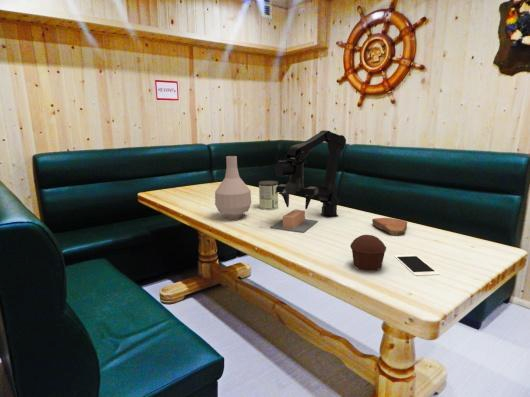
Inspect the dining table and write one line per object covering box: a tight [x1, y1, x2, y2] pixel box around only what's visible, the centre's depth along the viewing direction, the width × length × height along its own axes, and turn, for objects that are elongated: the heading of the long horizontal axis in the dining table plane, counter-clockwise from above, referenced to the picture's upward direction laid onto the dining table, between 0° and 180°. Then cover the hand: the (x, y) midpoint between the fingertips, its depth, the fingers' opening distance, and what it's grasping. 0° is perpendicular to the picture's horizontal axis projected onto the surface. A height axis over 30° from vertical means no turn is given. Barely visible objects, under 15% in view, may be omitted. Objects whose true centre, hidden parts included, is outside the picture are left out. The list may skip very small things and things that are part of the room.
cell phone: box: [393, 254, 440, 277], centre depth 117 cm, size 8×16×1 cm, turn 4°
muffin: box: [349, 234, 387, 272], centre depth 116 cm, size 12×11×10 cm
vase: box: [214, 155, 252, 220], centre depth 173 cm, size 18×18×30 cm
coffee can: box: [258, 180, 279, 211], centre depth 192 cm, size 10×10×14 cm
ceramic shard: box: [371, 217, 408, 236], centre depth 152 cm, size 15×6×15 cm
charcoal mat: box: [269, 218, 319, 234], centre depth 162 cm, size 18×16×1 cm
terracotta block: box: [282, 209, 306, 229], centre depth 161 cm, size 5×5×13 cm
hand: (296, 208), depth 163 cm, fingers open, 9 cm apart
